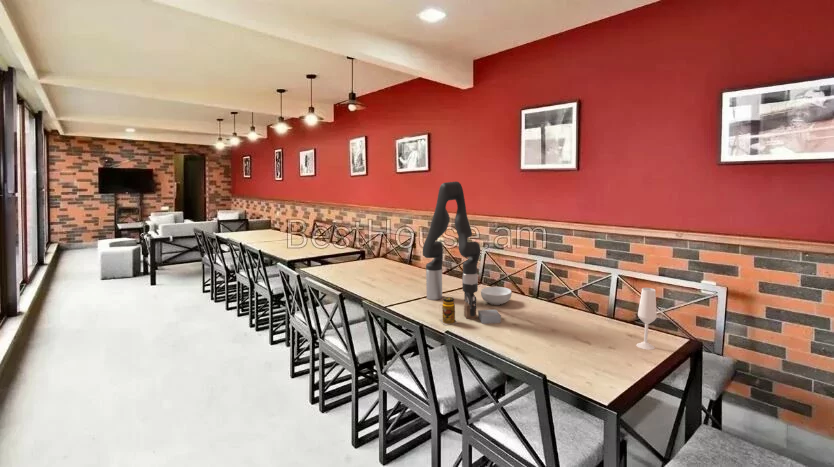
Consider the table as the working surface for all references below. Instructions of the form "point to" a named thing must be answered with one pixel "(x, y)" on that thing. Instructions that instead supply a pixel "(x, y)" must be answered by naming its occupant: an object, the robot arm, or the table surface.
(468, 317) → the walnut block
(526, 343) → the table surface
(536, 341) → the table surface
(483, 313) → the slate base
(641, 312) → the champagne flute
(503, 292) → the cereal bowl
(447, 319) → the condiment
